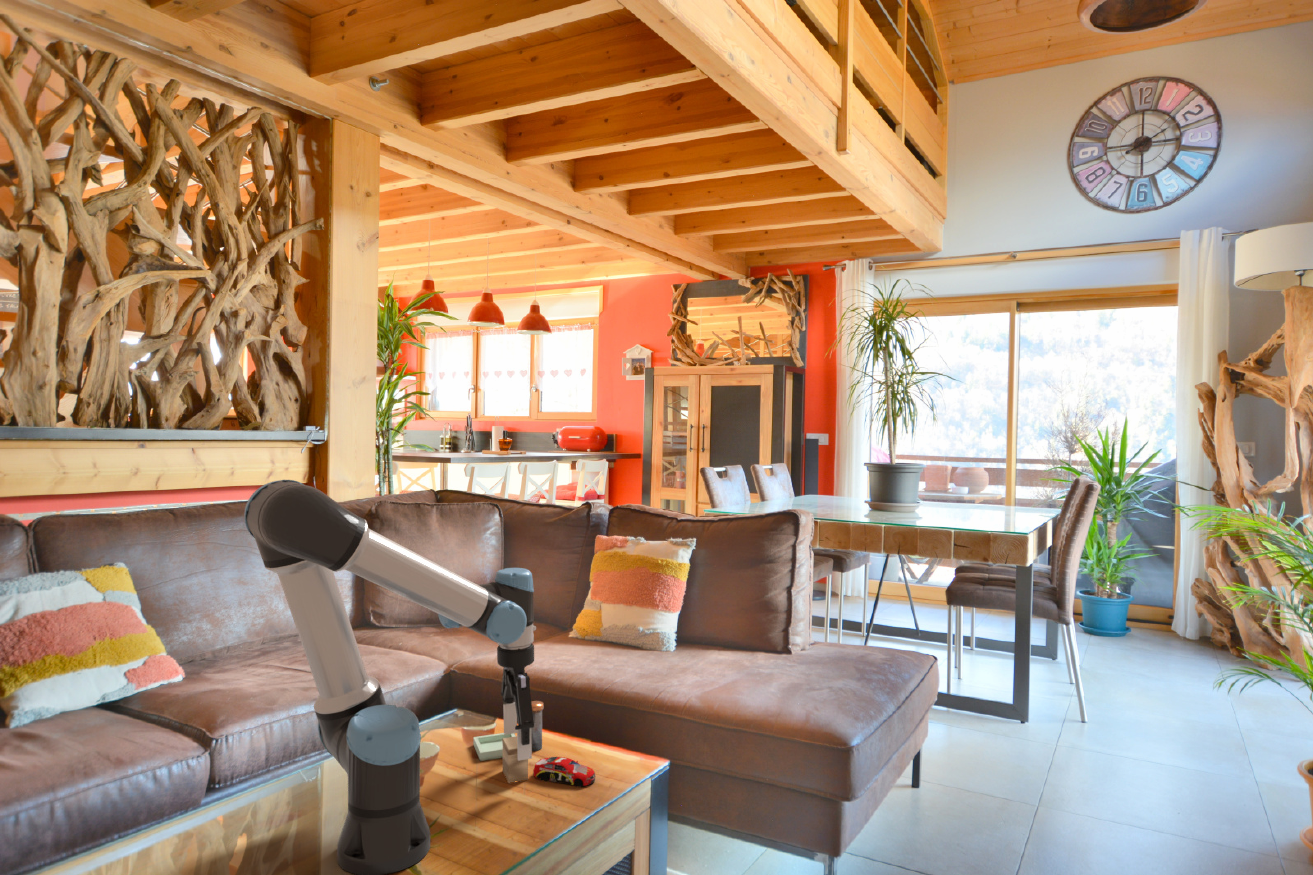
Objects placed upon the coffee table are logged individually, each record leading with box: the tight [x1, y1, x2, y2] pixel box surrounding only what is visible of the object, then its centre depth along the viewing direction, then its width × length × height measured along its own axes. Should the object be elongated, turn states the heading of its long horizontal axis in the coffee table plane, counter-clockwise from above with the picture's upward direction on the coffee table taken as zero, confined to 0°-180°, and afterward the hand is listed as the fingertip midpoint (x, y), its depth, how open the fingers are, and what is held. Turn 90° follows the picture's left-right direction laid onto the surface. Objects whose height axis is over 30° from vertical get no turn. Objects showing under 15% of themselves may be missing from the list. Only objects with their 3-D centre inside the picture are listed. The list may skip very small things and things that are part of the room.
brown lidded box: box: [502, 735, 529, 784], centre depth 170 cm, size 4×6×7 cm
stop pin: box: [531, 700, 545, 752], centre depth 184 cm, size 4×4×10 cm
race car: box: [532, 756, 596, 788], centre depth 169 cm, size 13×5×4 cm, turn 70°
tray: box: [472, 732, 516, 762], centre depth 183 cm, size 9×9×2 cm
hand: (517, 745), depth 170 cm, fingers open, 13 cm apart
